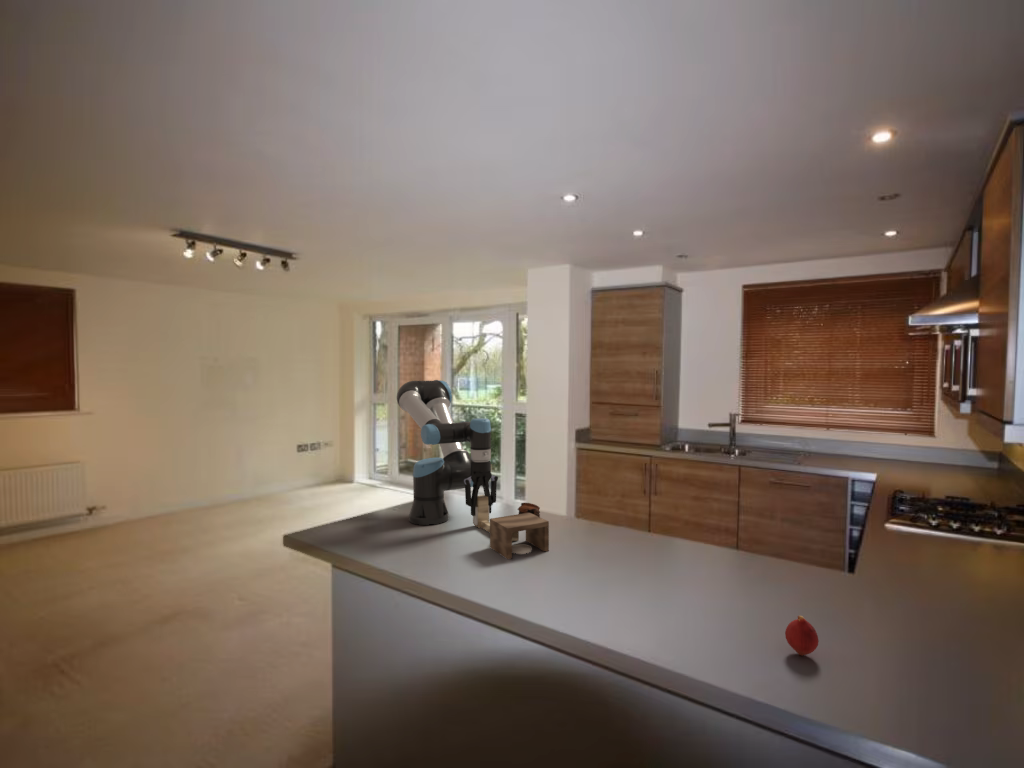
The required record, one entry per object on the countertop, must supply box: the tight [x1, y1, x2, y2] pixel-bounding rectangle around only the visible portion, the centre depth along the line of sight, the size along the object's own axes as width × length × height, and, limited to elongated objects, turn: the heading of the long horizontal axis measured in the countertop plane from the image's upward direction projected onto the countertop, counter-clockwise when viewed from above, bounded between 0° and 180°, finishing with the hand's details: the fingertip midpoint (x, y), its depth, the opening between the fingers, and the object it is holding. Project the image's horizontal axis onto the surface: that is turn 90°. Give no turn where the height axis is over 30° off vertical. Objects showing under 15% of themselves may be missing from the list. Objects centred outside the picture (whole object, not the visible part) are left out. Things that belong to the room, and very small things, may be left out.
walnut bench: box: [489, 513, 550, 560], centre depth 167 cm, size 12×15×10 cm
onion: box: [784, 615, 820, 656], centre depth 105 cm, size 6×6×8 cm
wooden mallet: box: [473, 494, 520, 542], centre depth 184 cm, size 23×8×11 cm, turn 29°
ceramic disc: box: [512, 543, 533, 555], centre depth 166 cm, size 7×7×1 cm
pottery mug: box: [517, 502, 541, 518], centre depth 198 cm, size 12×9×8 cm
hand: (481, 523), depth 192 cm, fingers closed on wooden mallet, 4 cm apart
